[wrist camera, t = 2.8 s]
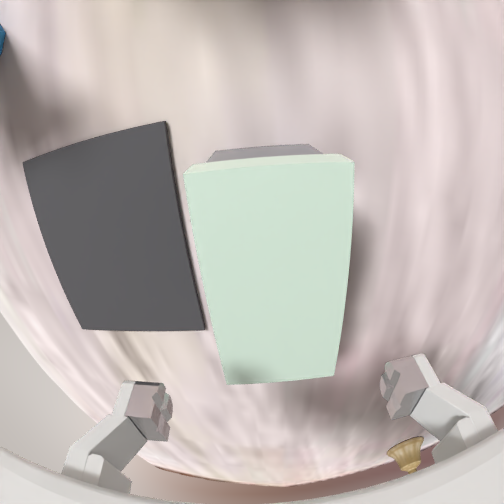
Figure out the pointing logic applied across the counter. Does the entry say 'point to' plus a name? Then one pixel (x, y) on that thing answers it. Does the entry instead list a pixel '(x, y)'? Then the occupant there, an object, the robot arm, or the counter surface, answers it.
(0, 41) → the cup
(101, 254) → the mat
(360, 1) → the counter surface
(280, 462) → the counter surface
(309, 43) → the counter surface
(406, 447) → the hand bell
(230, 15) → the counter surface
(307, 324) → the mint green block
